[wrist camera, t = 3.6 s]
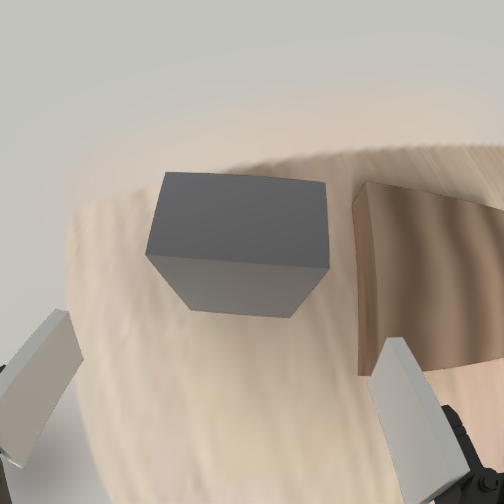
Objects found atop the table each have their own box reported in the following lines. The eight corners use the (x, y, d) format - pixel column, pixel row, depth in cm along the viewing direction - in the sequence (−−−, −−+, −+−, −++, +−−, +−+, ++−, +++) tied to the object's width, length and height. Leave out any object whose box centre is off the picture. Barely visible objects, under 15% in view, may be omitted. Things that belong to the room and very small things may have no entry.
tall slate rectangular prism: (291, 261, 25) (324, 177, 14) (289, 317, 23) (329, 268, 12) (198, 254, 25) (167, 166, 14) (190, 309, 24) (145, 254, 12)
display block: (489, 227, 28) (508, 212, 24) (507, 355, 22) (531, 350, 18) (351, 204, 28) (365, 181, 24) (357, 375, 22) (378, 375, 18)
